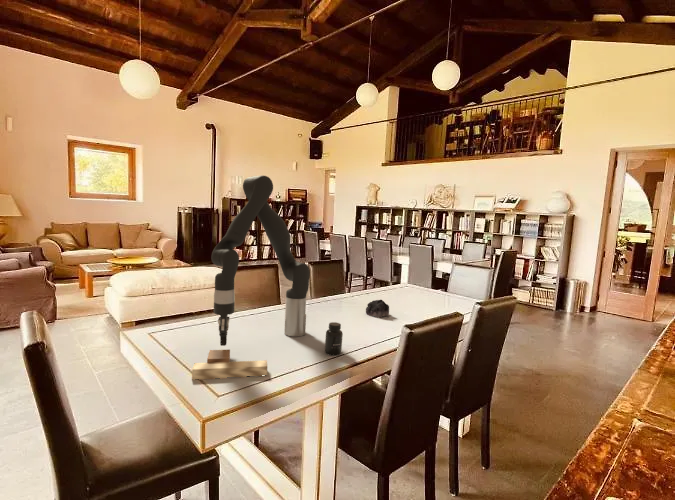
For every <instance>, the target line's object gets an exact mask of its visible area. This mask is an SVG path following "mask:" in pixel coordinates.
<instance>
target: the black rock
mask: <svg viewBox="0 0 675 500" xmlns="http://www.w3.org/2000/svg"><path fill="white" fill-rule="evenodd" d="M365 313H366V314H367V316H370V315H371V316H370V317H373V316H375V317H374V318H382V317H381V316H385V317H386V316H387V317H388V316H389V315H390V305H389V304H387V303H386V302H385V301H384V300H383V299H376V300H372V301H369V303H367V304H366V308H365Z"/></svg>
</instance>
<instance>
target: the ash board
mask: <svg viewBox="0 0 675 500" xmlns="http://www.w3.org/2000/svg"><path fill="white" fill-rule="evenodd" d="M262 375H267V376H268V360H267V359H266V360H241V361H240V360H239V361H230V362H211V363H207V362H195V363H194V364H193V366H192V369H191V380H192V381H196V380H195V379H199V380H214V379H215V378H220V379H228V378H227V377H241V378H247V377H246V376H262ZM262 377H263V376H262ZM215 380H216V379H215Z"/></svg>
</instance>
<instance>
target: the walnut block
mask: <svg viewBox="0 0 675 500" xmlns="http://www.w3.org/2000/svg"><path fill="white" fill-rule="evenodd" d="M206 361H207V362H206V363H211V362H231V349H209V353H208V354H207V360H206Z"/></svg>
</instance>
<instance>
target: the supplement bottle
mask: <svg viewBox="0 0 675 500" xmlns="http://www.w3.org/2000/svg"><path fill="white" fill-rule="evenodd" d="M341 327H342V324H341V323H340V322H333V321H332V322H329V323H328V329H327V330H326V331H325V338H324V339H325V341H324V353H325V354H327V355H328V354H329V356H339V355H340V354H342V348H343V331H342V330H341V329H342V328H341Z"/></svg>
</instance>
